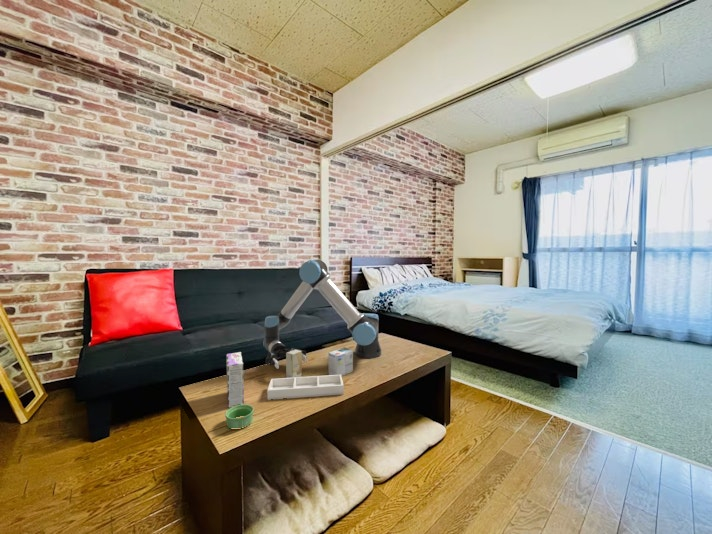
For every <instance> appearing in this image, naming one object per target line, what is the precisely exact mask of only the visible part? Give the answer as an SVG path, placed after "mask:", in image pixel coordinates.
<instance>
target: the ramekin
mask: <svg viewBox="0 0 712 534" xmlns="http://www.w3.org/2000/svg"><path fill="white" fill-rule="evenodd" d="M254 412H255V411H254V406H252V405H251V404H246V403H244V404H242V405H237V406H234V407H229V409H227V410H226V412H225V414H224V415H225V420H226V427H227V426H228V427H229V428H242V427H245V426H247V425H249V424H250V423H251V422H252V423H253V418H254V417H253V416H254ZM240 416H244V417H241V418H236V417H240ZM252 423H251V424H252ZM251 424H250V425H251ZM250 425H249V426H250ZM228 427H227V428H228ZM229 428H228V429H229Z"/></svg>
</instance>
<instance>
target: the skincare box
mask: <svg viewBox="0 0 712 534" xmlns="http://www.w3.org/2000/svg"><path fill="white" fill-rule="evenodd" d="M296 349H297V348H295V350H293V351H290V352H287V353H286V357H285V359H286V360H285V362H286V364H285V367H286V368H285V370H286V371H285V372H286V373H285V376H286V377H285V378H293V377H303V376H302V375H303V374H302V372H303V369H302V367H303V365H302V361H303V360H302V351H300V350H301V349H299V350H296Z"/></svg>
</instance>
